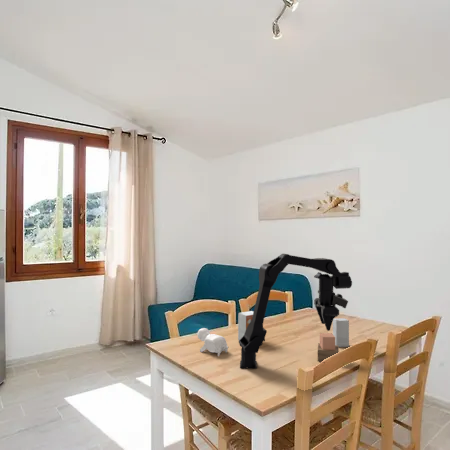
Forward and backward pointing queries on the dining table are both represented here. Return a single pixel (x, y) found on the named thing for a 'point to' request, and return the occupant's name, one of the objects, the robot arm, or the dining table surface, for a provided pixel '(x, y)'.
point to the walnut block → (326, 352)
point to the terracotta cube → (327, 341)
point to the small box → (243, 322)
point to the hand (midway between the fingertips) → (325, 327)
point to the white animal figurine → (212, 342)
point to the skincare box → (341, 332)
